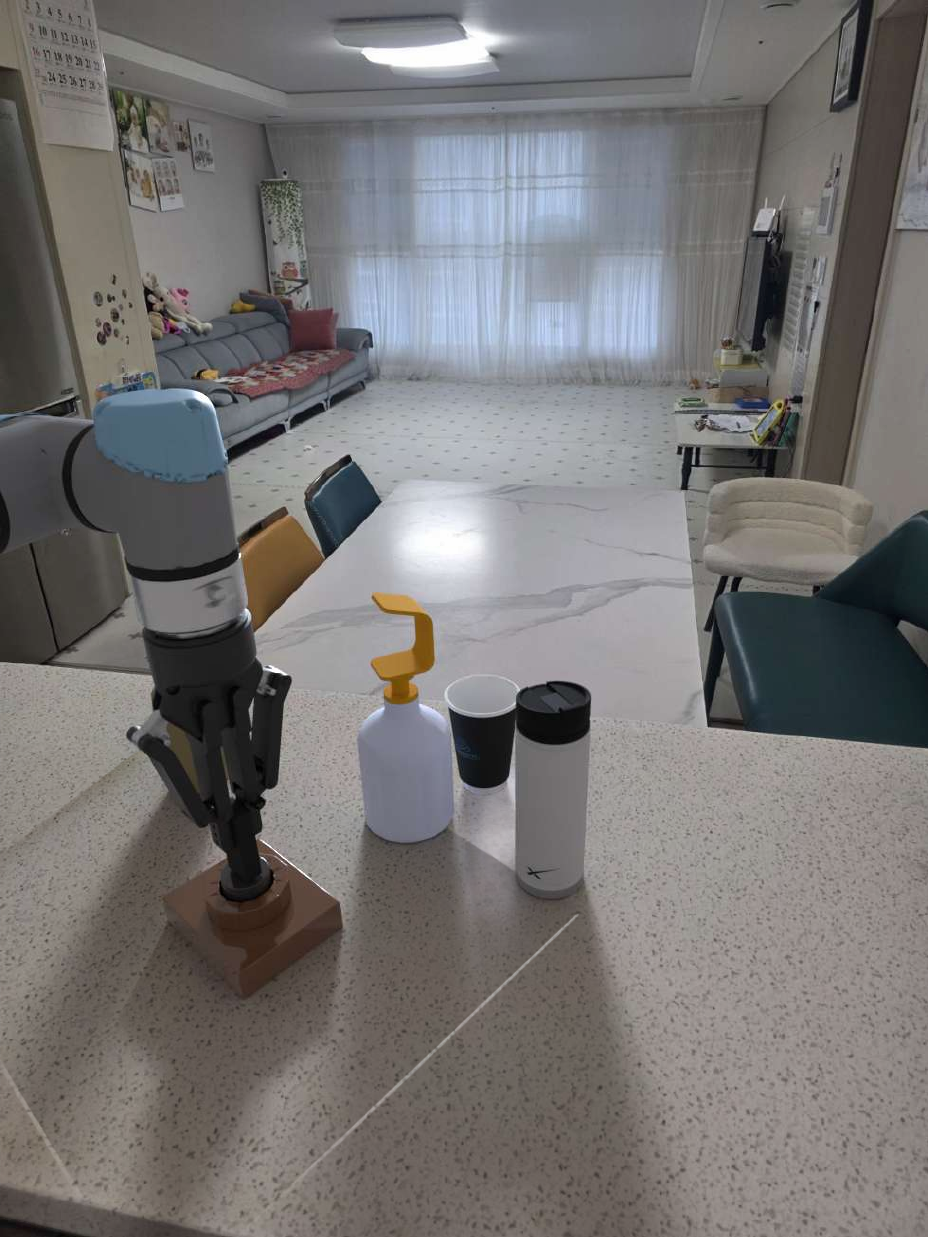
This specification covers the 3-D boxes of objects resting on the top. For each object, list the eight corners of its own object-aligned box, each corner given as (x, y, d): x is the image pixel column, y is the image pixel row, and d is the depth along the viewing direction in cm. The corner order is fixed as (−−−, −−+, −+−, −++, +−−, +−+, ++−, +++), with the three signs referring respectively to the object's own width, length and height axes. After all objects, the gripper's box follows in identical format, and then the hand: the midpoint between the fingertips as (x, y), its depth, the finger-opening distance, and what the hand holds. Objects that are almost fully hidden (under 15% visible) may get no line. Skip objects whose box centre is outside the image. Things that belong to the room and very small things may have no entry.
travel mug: (537, 912, 72) (539, 720, 63) (503, 864, 77) (502, 680, 69) (598, 890, 74) (609, 700, 65) (561, 844, 80) (567, 664, 71)
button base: (167, 922, 72) (156, 879, 70) (263, 862, 79) (256, 820, 76) (244, 1001, 65) (234, 955, 62) (343, 927, 71) (338, 883, 69)
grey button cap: (214, 891, 70) (210, 873, 69) (254, 866, 72) (251, 848, 71) (241, 915, 67) (237, 896, 66) (281, 888, 70) (278, 870, 69)
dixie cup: (525, 762, 92) (526, 677, 87) (516, 808, 85) (516, 717, 80) (455, 756, 93) (452, 671, 88) (440, 800, 86) (436, 711, 81)
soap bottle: (354, 801, 86) (331, 588, 75) (435, 778, 89) (423, 570, 79) (380, 856, 79) (359, 627, 68) (468, 829, 82) (460, 606, 71)
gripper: (134, 668, 52) (199, 939, 62) (302, 600, 60) (334, 849, 71) (82, 633, 57) (151, 890, 67) (245, 575, 65) (283, 812, 75)
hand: (245, 869), depth 69 cm, fingers closed
